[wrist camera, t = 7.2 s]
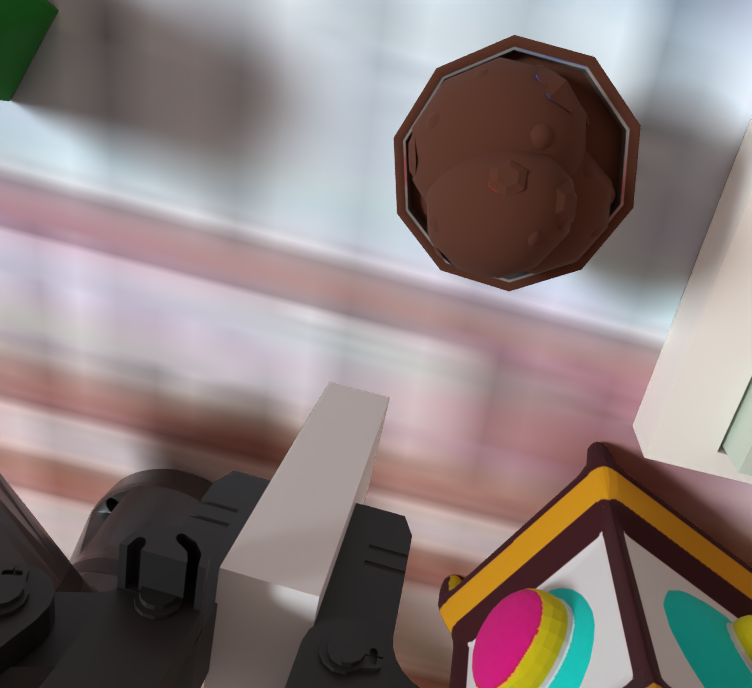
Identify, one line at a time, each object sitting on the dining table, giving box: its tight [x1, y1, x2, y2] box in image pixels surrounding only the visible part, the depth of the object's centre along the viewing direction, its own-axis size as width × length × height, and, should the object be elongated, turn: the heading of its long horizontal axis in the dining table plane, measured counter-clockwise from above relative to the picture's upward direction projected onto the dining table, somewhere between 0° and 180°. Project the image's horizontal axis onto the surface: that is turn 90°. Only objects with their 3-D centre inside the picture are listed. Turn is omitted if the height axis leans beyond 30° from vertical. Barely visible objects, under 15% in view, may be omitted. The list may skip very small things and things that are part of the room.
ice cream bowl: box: [394, 35, 640, 291], centre depth 30 cm, size 11×11×15 cm
